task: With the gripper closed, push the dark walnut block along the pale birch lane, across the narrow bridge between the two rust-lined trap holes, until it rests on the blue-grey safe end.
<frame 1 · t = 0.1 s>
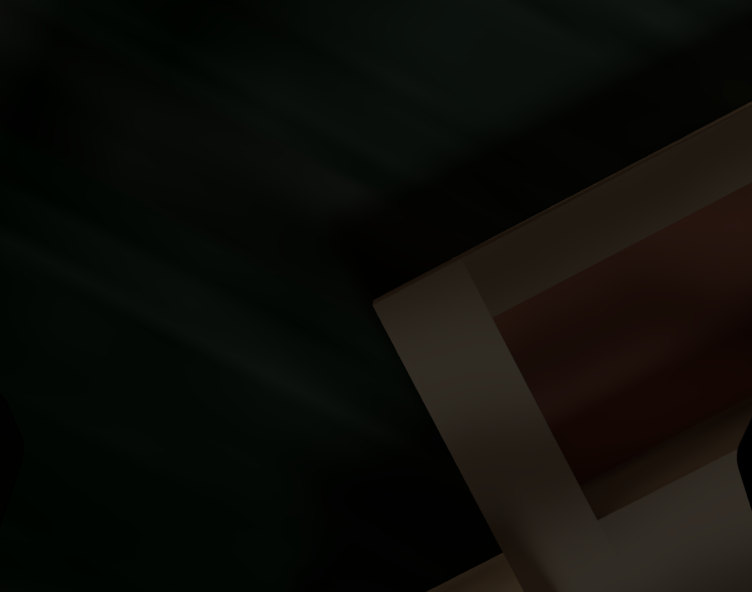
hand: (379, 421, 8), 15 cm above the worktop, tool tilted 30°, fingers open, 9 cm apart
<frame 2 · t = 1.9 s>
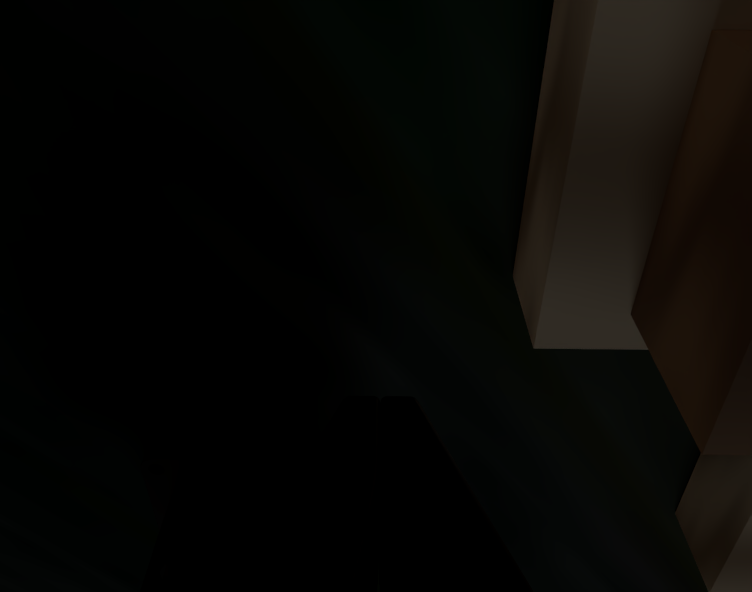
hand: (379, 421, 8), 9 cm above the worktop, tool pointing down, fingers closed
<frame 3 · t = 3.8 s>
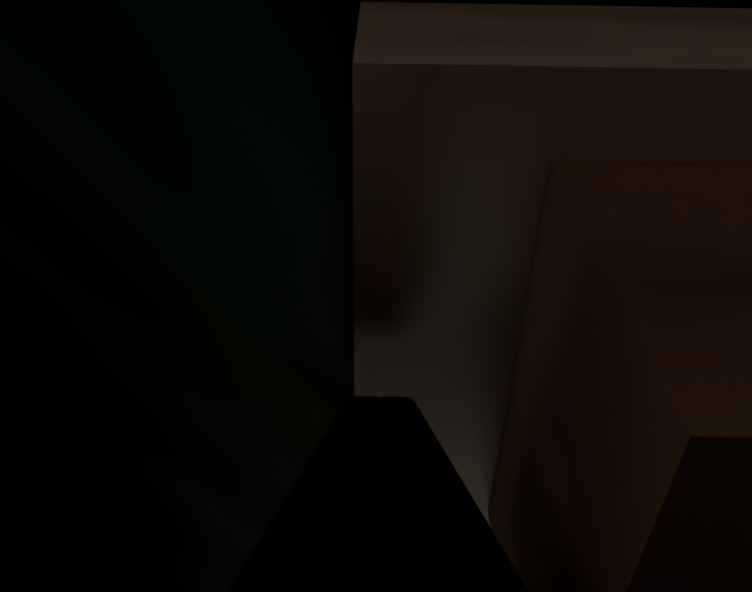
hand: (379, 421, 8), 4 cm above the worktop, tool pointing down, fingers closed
walnut block: (735, 373, 9), point 3 cm above the worktop, touching gripper
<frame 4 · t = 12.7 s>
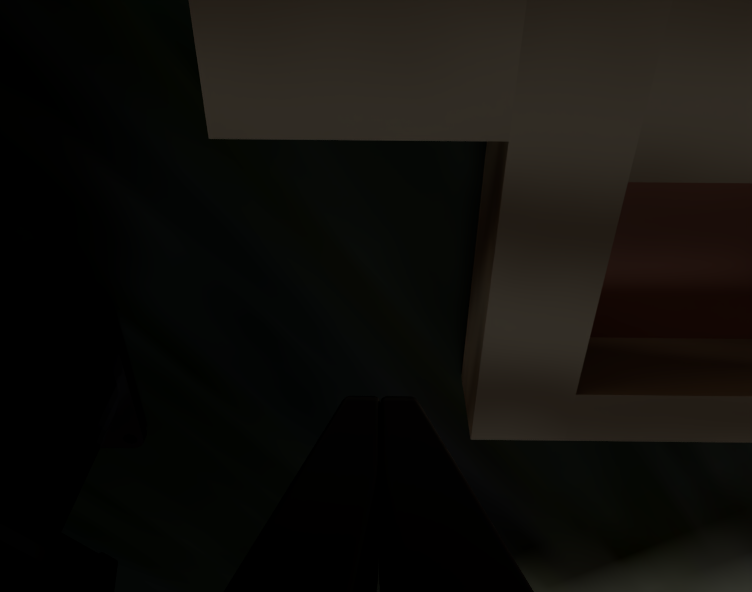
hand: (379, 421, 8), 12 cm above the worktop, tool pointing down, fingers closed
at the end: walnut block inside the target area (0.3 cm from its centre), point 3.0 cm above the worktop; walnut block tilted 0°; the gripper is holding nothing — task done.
